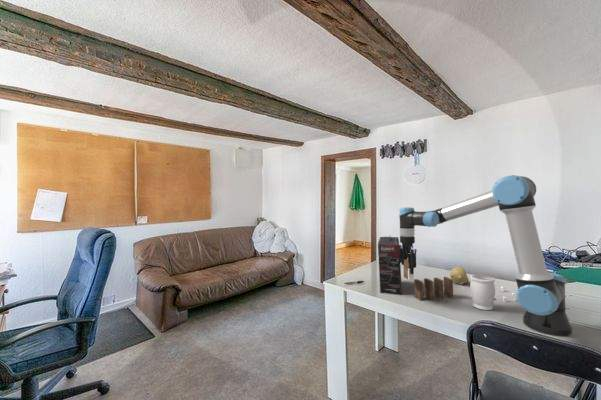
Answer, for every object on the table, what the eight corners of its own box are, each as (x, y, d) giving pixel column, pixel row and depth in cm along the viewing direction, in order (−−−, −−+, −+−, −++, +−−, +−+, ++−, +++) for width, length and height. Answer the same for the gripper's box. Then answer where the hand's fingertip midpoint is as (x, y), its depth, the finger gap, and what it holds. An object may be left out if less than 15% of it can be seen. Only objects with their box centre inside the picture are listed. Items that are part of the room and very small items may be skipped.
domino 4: (437, 295, 152) (436, 277, 152) (443, 298, 148) (442, 280, 147) (434, 295, 152) (433, 277, 152) (440, 298, 147) (439, 280, 147)
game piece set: (491, 287, 163) (491, 281, 163) (529, 299, 144) (529, 291, 144) (468, 292, 156) (468, 286, 156) (505, 305, 137) (505, 297, 137)
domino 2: (417, 296, 151) (417, 279, 151) (423, 300, 146) (422, 281, 146) (414, 297, 150) (414, 279, 150) (420, 300, 145) (419, 282, 145)
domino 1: (407, 277, 150) (406, 259, 150) (412, 279, 145) (411, 261, 145) (404, 277, 149) (403, 259, 149) (409, 280, 144) (408, 261, 144)
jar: (472, 301, 142) (471, 273, 142) (496, 305, 136) (495, 276, 135) (469, 308, 134) (468, 278, 134) (494, 313, 127) (494, 281, 127)
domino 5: (446, 294, 153) (446, 276, 153) (453, 297, 148) (452, 279, 148) (444, 294, 153) (443, 276, 153) (450, 297, 148) (449, 279, 148)
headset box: (401, 295, 154) (400, 237, 154) (378, 293, 158) (377, 237, 158) (400, 281, 177) (399, 231, 177) (380, 280, 182) (379, 231, 181)
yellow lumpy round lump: (468, 290, 167) (474, 277, 171) (462, 279, 162) (468, 265, 166) (451, 286, 175) (457, 273, 179) (445, 275, 170) (452, 262, 174)
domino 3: (427, 295, 152) (427, 278, 151) (433, 299, 147) (432, 281, 146) (424, 296, 151) (424, 278, 151) (430, 299, 146) (429, 281, 146)
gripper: (423, 237, 138) (424, 282, 139) (404, 233, 156) (405, 273, 157) (410, 238, 137) (410, 283, 138) (392, 233, 155) (393, 273, 155)
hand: (408, 278), depth 147 cm, fingers closed on domino 1, 5 cm apart
